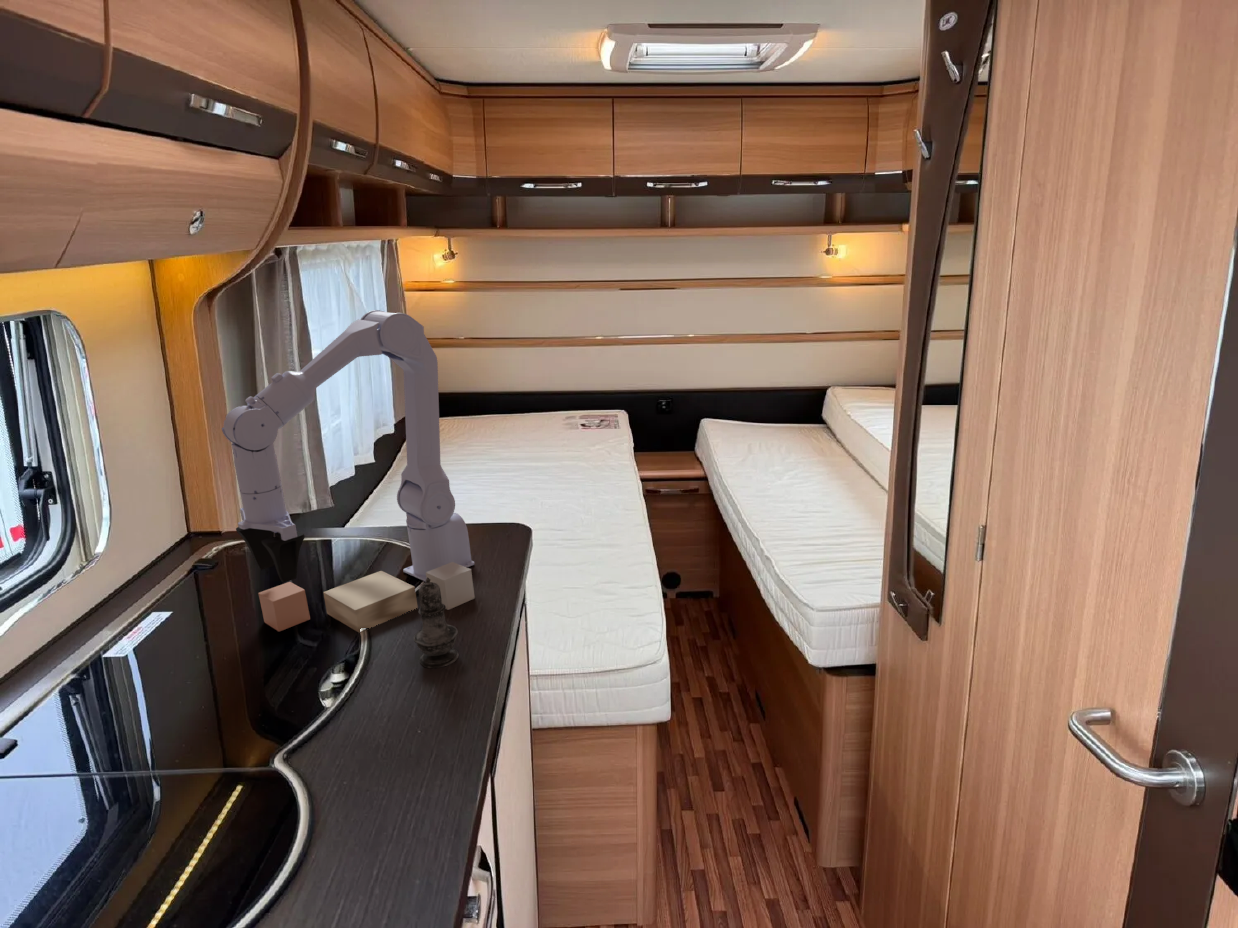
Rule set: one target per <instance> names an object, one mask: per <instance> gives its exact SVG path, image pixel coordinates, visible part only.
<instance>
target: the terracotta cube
mask: <svg viewBox="0 0 1238 928" xmlns="http://www.w3.org/2000/svg"><path fill="white" fill-rule="evenodd" d="M257 594H258V598H259V602H260V607H261V611H262V617H263V622H264V624H266V625H267V626H269V627H271V628H272V629H274V630H276V631H277V632H282V631H284V630H286V629H289V628H291V627H294V626H296V625H299V624H302V623H305V622H307V621H309V620H311V615H310V611H309V610H310V609H309V606H308V599H307V594H306V590H305V589H304V588H303V587H300V586H298V585H297V584H295V583H293V582H291V581H287V582H284V583H282V584H280V585H276V586H274V587H271V588H268V589H265V590H263V591H260V592H258V593H257Z"/></svg>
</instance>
